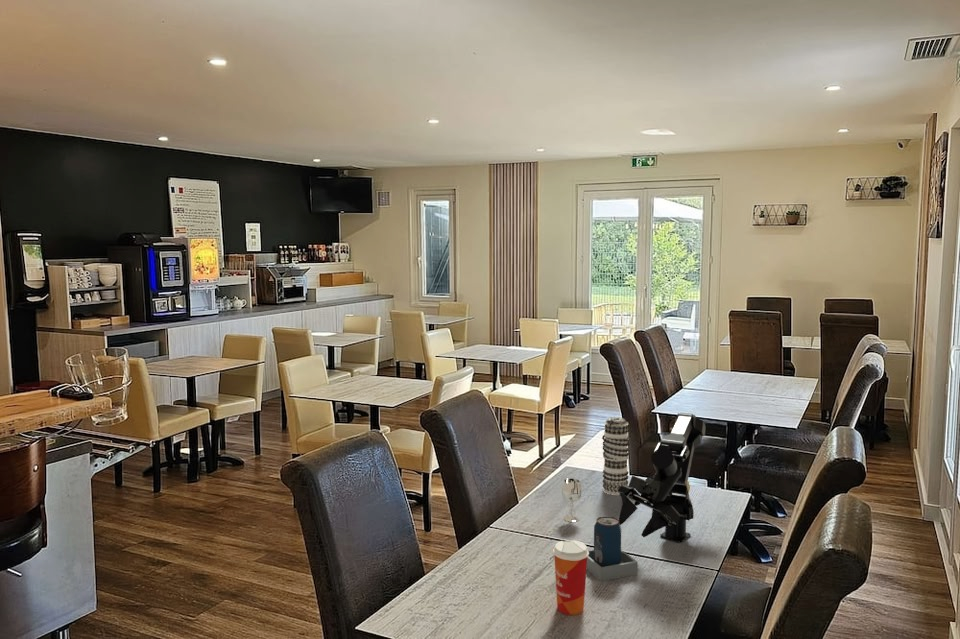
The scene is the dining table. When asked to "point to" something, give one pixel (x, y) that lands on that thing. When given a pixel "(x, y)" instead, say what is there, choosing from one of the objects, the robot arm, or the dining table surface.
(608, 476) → the decorative candle
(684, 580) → the dining table surface
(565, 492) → the wineglass
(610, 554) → the soda can
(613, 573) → the tray
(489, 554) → the dining table surface
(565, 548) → the coffee cup
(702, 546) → the dining table surface
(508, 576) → the dining table surface
